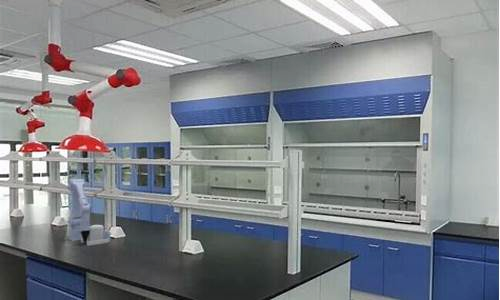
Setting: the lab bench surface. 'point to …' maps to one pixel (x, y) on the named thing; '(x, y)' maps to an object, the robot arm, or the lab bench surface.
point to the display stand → (105, 240)
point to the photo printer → (96, 233)
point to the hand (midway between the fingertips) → (85, 241)
